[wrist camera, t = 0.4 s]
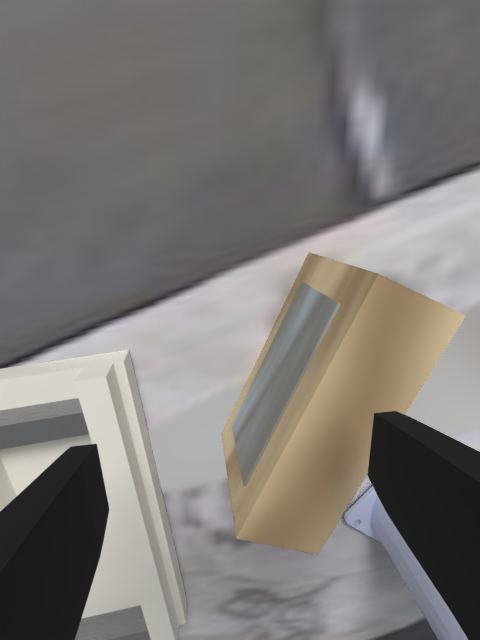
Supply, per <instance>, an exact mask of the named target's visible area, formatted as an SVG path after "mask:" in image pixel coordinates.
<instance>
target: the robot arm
mask: <svg viewBox="0 0 480 640" xmlns="http://www.w3.org/2000/svg"><path fill="white" fill-rule="evenodd" d="M368 477H369V479H370V481H371V483H372V485H373V486H372V487H371V488H370V489H369V490H368V491H367V492H366V493H365V494H364V495H363V496H362V497H361V498H360V499H359V500H358V501H357V502H356V503H355V504H354V505H353V506H352V507H351V508H350V509H349V510H348V511H347V512H346V513H345V514H344V519H345V521H346V523H347V524H348V525H350V526H352V527H354V528H355V529H357V530H359V531H361V532H362V533H364V534H366V535H368V536H369V537H371V538H373V539H375V540H377V541H378V542H380V543H382V544H383V546H384V548H385V549H386V551H387V553H388V555H389V556H390V558H391V560H392V561H393V563H394V565H395V567H396V568H397V570H398V572H399V573H400V575H401V577H402V579H403V580H404V582H405V584H406V585H407V587H408V589H409V591H410V592H411V594H412V596H413V597H414V599H415V601H416V602H417V604H418V606H419V608H420V609H421V611H422V613H423V614H424V616H425V618H426V620H427V621H428V623H429V625H430V626H431V628H432V630H433V632H434V633H435V635H436V637H437V638H438V640H480V452H479V451H477V450H475V449H473V448H471V447H469V446H467V445H465V444H463V443H461V442H459V441H457V440H455V439H453V438H451V437H449V436H447V435H445V434H443V433H441V432H439V431H437V430H435V429H433V428H431V427H429V426H427V425H425V424H423V423H421V422H418V421H417V420H415V419H412V418H410V417H408V416H406V415H404V414H402V413H399V412H397V411H390V412H381V413H374V419H373V428H372V438H371V447H370V457H369V466H368ZM108 514H109V505H108V500H107V494H106V489H105V484H104V479H103V474H102V468H101V463H100V458H99V453H98V448H97V444H89V445H80V446H71V447H70V448H68V449H67V450H66V451H65V452H64V453H63V454H62V455H61V456H59V457H58V458H57V459H56V460H55V461H54V462H53V463H52V464H51V465H50V466H49V467H48V468H47V469H45V470H44V471H43V472H42V473H41V474H40V475H39V476H38V477H37V478H36V479H35V480H34V481H33V482H32V483H31V484H30V485H29V486H27V487H26V488H25V489H24V490H23V491H22V492H21V493H20V494H19V495H18V496H17V497H15V498H14V499H13V500H12V501H11V502H10V503H9V504H8V505H7V506H6V507H5V508H4V509H2V510H1V511H0V640H75V637H76V634H77V631H78V628H79V625H80V621H81V618H82V615H83V612H84V608H85V605H86V602H87V599H88V595H89V592H90V589H91V586H92V582H93V579H94V576H95V572H96V569H97V566H98V562H99V559H100V555H101V551H102V546H103V541H104V536H105V531H106V525H107V520H108Z"/></svg>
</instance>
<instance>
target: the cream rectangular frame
mask: <svg viewBox="0 0 480 640" xmlns="http://www.w3.org/2000/svg"><path fill="white" fill-rule="evenodd" d="M89 444H97V448H98V453H99V458H100V463H101V468H102V474H103V479H104V484H105V489H106V494H107V500H108V505H109V514H108V520H107V525H106V531H105V536H104V541H103V546H102V551H101V555H100V559H99V562H98V566H97V569H96V572H95V576H94V579H93V582H92V586H91V589H90V592H89V595H88V599H87V602H86V605H85V608H84V612H83V615H82V618H81V621H80V625H79V628H78V631H77V634H76V637H75V640H179V625H183V624H187V599H186V594H185V590H184V586H183V581H182V577H181V573H180V568H179V564H178V560H177V555H176V551H175V547H174V542H173V538H172V534H171V529H170V525H169V521H168V516H167V512H166V508H165V503H164V499H163V495H162V490H161V486H160V482H159V478H158V473H157V469H156V465H155V460H154V456H153V451H152V447H151V443H150V438H149V434H148V430H147V425H146V421H145V417H144V412H143V408H142V404H141V399H140V395H139V391H138V386H137V382H136V378H135V373H134V369H133V365H132V360H131V356H130V352H129V350H123V351H116V352H109V353H103V354H96V355H89V356H83V357H76V358H69V359H63V360H56V361H49V362H42V363H36V364H29V365H22V366H16V367H9V368H2V369H0V511H1V510H2V509H4V508H5V507H6V506H7V505H8V504H9V503H10V502H11V501H12V500H13V499H14V498H15V497H17V496H18V495H19V494H20V493H21V492H22V491H23V490H24V489H25V488H26V487H27V486H29V485H30V484H31V483H32V482H33V481H34V480H35V479H36V478H37V477H38V476H39V475H40V474H41V473H42V472H43V471H44V470H45V469H47V468H48V467H49V466H50V465H51V464H52V463H53V462H54V461H55V460H56V459H57V458H58V457H59V456H61V455H62V454H63V453H64V452H65V451H66V450H67V449H68V448H70V447H71V446H80V445H89Z"/></svg>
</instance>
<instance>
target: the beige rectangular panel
mask: <svg viewBox="0 0 480 640" xmlns="http://www.w3.org/2000/svg"><path fill="white" fill-rule="evenodd" d="M465 317H466V315H464V314H462V313H460V312H458V311H455V310H453V309H451V308H449V307H447V306H445V305H443V304H441V303H439V302H437V301H434V300H432V299H430V298H428V297H426V296H424V295H422V294H420V293H418V292H415V291H413V290H411V289H409V288H407V287H405V286H403V285H401V284H399V283H397V282H394V281H392V280H390V279H388V278H386V277H384V276H382V275H380V274H377V273H374V272H371V271H367V270H364V269H361V268H358V267H355V266H351V265H348V264H345V263H342V262H338V261H335V260H332V259H329V258H326V257H322V256H319V255H316V254H313V253H308V255H307V257H306V259H305V262H304V264H303V266H302V268H301V270H300V272H299V274H298V276H297V278H296V280H295V282H294V285H293V287H292V289H291V291H290V293H289V295H288V297H287V299H286V301H285V303H284V305H283V308H282V310H281V312H280V314H279V316H278V318H277V320H276V322H275V324H274V326H273V328H272V331H271V333H270V335H269V337H268V339H267V341H266V343H265V345H264V347H263V349H262V351H261V354H260V356H259V358H258V360H257V362H256V364H255V366H254V368H253V370H252V372H251V374H250V377H249V379H248V380H247V381H246V383H245V385H244V387H243V390H242V392H241V394H240V396H239V398H238V400H237V402H236V404H235V406H234V408H233V411H232V413H231V415H230V417H229V419H228V421H227V423H226V425H225V427H224V429H223V432H222V440H223V446H224V454H225V461H226V468H227V475H228V482H229V490H230V497H231V504H232V511H233V518H234V525H235V532H236V538H237V539H242V540H247V541H252V542H257V543H262V544H267V545H272V546H277V547H282V548H287V549H292V550H297V551H302V552H307V553H312V554H317V555H318V553H319V551H320V550H321V548H322V547H323V545H324V543H325V542H326V540H327V539H328V537H329V535H330V534H331V532H332V531H333V529H334V527H335V526H336V524H337V523H338V521H339V519H340V518H341V516H342V514H343V513H344V511H345V510H346V508H347V506H348V505H349V503H350V502H351V500H352V498H353V497H354V495H355V494H356V492H357V490H358V489H359V487H360V486H361V484H362V482H363V481H364V479H365V478H366V476H367V474H368V466H369V457H370V447H371V438H372V428H373V419H374V413H381V412H390V411H397V412H399V413H402V414H404V415H405V413H406V412H407V410H408V408H409V407H410V405H411V404H412V402H413V400H414V398H415V397H416V395H417V394H418V392H419V391H420V389H421V387H422V386H423V384H424V382H425V381H426V379H427V378H428V376H429V374H430V373H431V371H432V370H433V368H434V367H435V365H436V363H437V362H438V360H439V358H440V357H441V355H442V354H443V352H444V350H445V349H446V347H447V346H448V344H449V342H450V341H451V339H452V338H453V336H454V334H455V333H456V331H457V330H458V328H459V326H460V325H461V323H462V322H463V320H464V318H465Z"/></svg>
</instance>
